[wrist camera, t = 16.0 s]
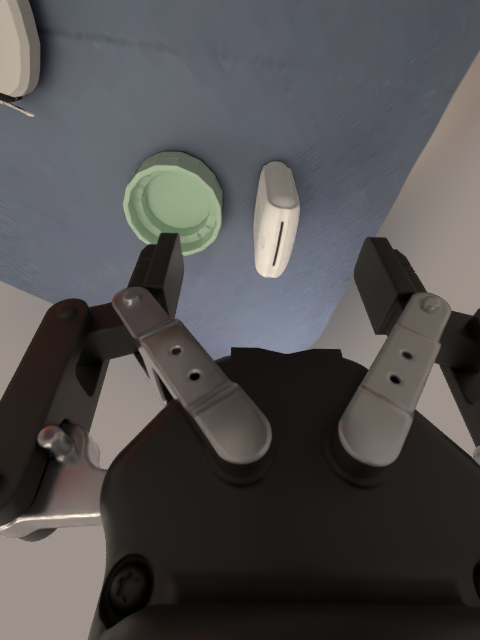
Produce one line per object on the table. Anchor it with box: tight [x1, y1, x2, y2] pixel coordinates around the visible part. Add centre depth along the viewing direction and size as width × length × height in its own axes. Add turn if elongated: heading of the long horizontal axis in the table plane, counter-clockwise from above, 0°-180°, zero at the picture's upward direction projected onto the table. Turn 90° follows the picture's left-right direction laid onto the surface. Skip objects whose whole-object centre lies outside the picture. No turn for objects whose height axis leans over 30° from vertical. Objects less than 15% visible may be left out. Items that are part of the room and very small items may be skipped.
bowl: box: [123, 152, 223, 255], centre depth 41 cm, size 12×12×5 cm
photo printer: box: [253, 161, 300, 278], centre depth 39 cm, size 10×4×12 cm, turn 174°
